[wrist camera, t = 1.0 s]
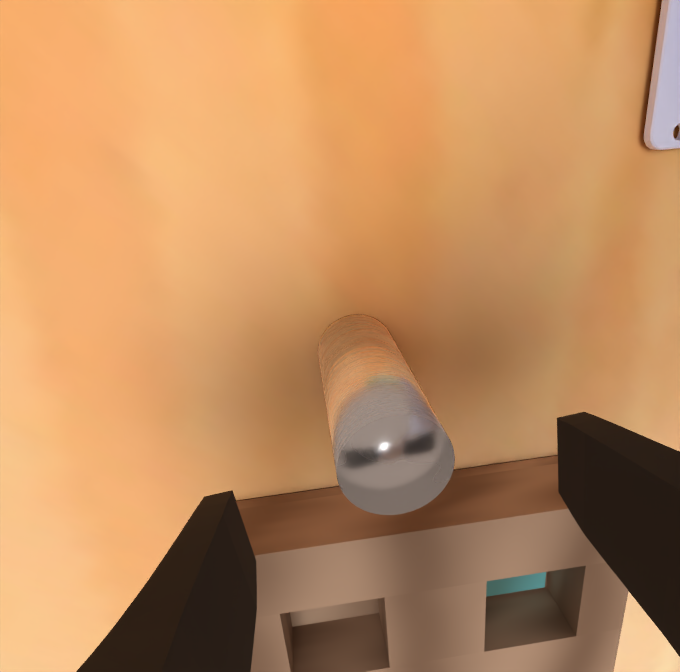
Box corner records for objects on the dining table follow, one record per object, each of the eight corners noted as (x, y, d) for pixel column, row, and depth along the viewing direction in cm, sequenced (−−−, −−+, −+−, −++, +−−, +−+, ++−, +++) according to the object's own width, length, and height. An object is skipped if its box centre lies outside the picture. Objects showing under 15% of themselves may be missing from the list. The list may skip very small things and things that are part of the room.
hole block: (597, 449, 20) (645, 496, 18) (575, 615, 24) (612, 675, 21) (221, 503, 19) (210, 561, 17) (258, 667, 23) (255, 737, 20)
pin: (391, 310, 17) (454, 407, 11) (394, 379, 18) (454, 506, 12) (314, 319, 17) (330, 423, 11) (322, 388, 18) (342, 522, 12)
